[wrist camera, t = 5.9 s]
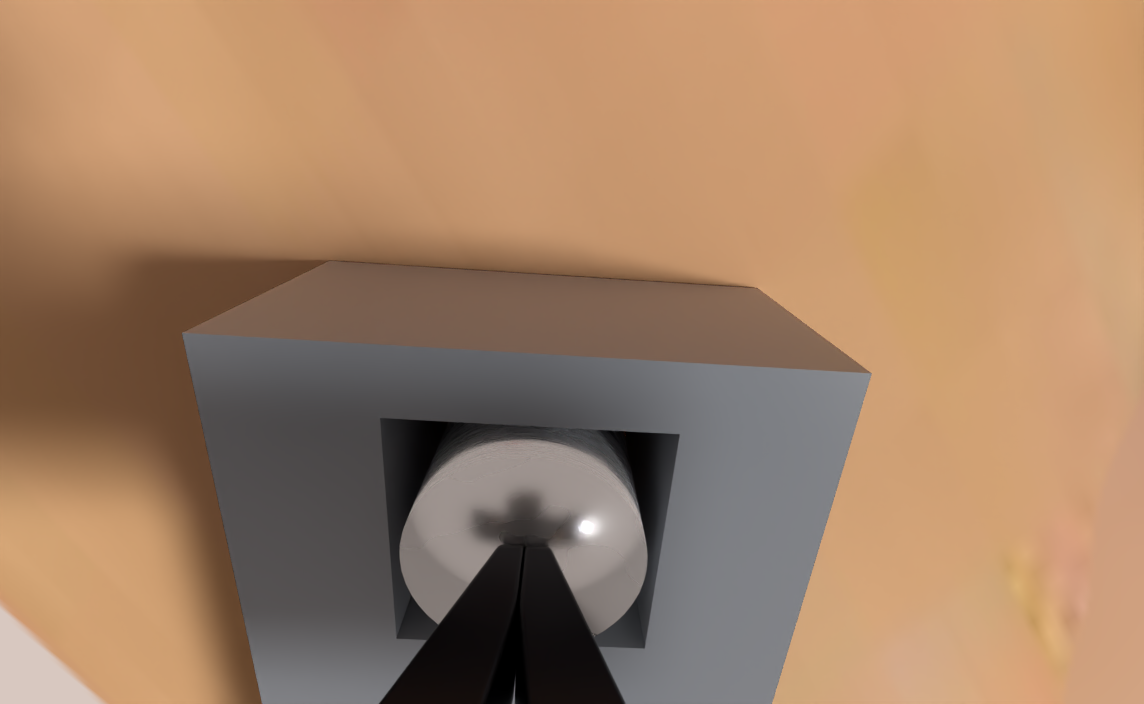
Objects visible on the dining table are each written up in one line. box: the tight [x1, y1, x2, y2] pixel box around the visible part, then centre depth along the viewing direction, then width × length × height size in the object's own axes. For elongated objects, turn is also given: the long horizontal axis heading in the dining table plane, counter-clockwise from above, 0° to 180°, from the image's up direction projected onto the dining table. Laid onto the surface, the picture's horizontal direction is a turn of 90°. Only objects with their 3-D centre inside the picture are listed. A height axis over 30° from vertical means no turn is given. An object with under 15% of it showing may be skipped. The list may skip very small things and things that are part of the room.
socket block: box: [182, 261, 872, 704], centre depth 13 cm, size 17×10×5 cm, turn 176°
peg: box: [400, 422, 648, 636], centre depth 11 cm, size 4×4×5 cm
